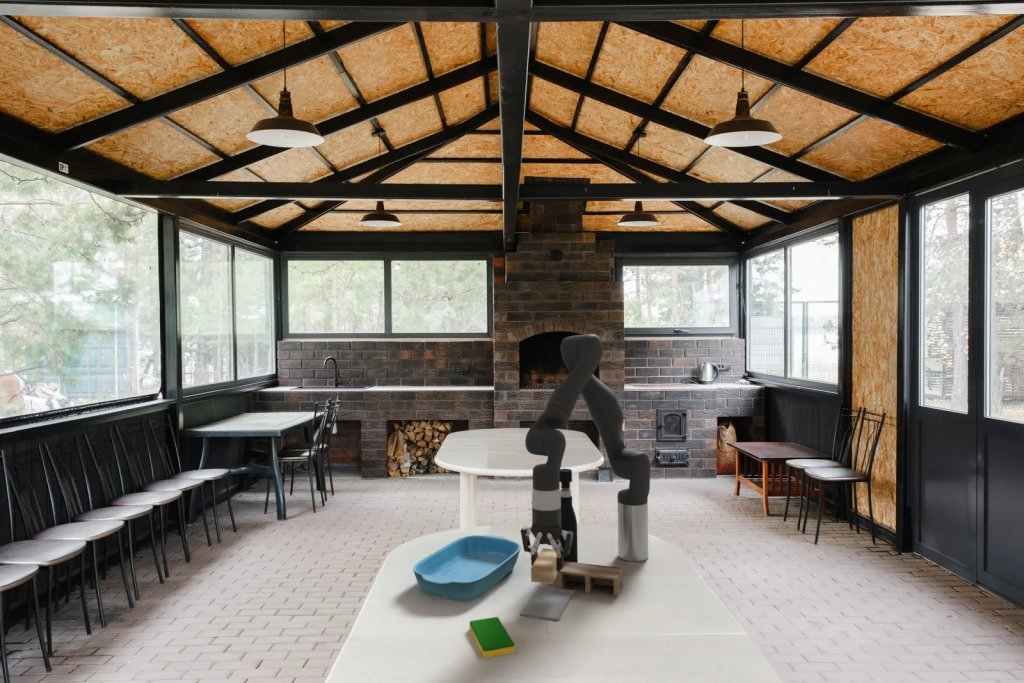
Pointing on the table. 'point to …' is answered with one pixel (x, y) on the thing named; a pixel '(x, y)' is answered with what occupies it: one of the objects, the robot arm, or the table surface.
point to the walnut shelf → (591, 576)
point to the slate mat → (547, 603)
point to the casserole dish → (467, 566)
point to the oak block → (545, 567)
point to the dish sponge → (491, 637)
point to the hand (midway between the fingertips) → (547, 568)
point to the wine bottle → (568, 515)
